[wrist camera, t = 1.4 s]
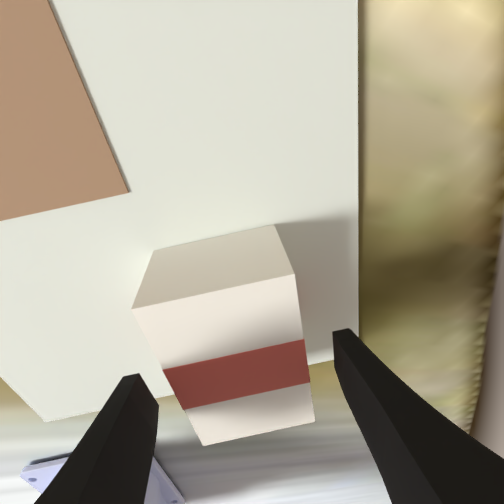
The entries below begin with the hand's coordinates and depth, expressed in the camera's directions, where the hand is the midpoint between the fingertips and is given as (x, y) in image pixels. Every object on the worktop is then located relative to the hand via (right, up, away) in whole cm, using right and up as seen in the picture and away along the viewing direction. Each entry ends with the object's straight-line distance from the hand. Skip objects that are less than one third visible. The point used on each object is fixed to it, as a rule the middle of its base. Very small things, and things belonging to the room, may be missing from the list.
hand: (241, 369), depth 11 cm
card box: (0, +2, +3) cm, 3 cm away
